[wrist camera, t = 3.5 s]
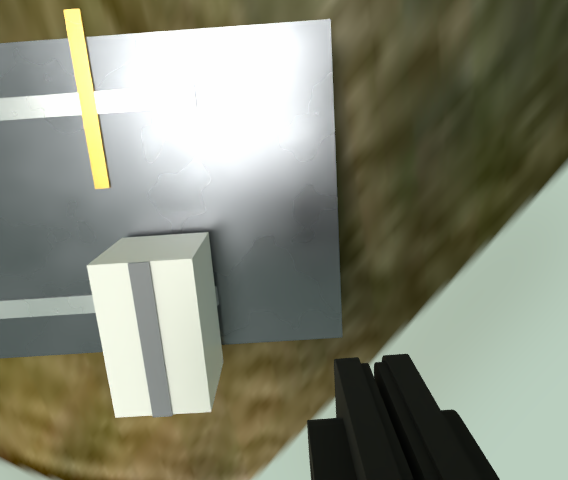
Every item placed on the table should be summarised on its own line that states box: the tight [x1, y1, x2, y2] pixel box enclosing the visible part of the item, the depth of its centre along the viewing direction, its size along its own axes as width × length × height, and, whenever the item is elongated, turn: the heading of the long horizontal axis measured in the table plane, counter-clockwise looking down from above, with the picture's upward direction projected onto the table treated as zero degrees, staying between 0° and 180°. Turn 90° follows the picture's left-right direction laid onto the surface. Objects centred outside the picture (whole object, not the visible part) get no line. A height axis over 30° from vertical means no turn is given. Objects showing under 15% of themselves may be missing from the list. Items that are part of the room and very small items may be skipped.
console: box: [0, 9, 342, 358], centre depth 18 cm, size 18×13×3 cm
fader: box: [87, 232, 223, 417], centre depth 15 cm, size 3×5×3 cm, turn 4°
